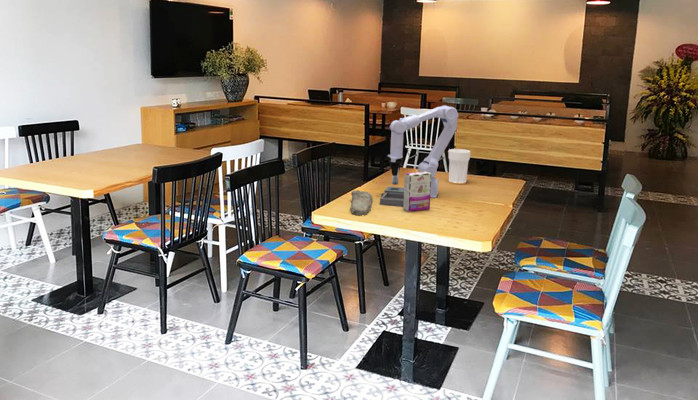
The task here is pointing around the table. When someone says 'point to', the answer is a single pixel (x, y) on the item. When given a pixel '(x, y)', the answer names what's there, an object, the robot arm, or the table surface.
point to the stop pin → (395, 179)
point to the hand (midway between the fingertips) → (395, 174)
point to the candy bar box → (417, 191)
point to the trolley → (393, 190)
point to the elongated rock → (361, 202)
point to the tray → (392, 199)
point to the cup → (458, 165)
